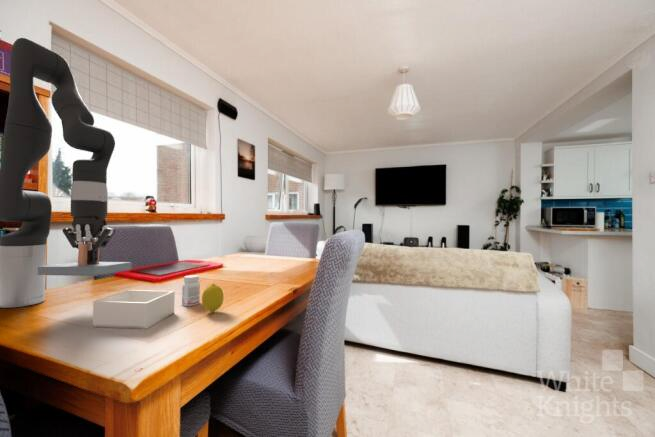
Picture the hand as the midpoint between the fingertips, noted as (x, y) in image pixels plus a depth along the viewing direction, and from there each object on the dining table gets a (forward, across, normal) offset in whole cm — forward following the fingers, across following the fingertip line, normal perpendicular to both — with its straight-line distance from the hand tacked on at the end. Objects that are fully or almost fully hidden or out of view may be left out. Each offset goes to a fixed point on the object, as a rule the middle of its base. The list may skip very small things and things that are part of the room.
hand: (88, 263), depth 74 cm
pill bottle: (+14, +22, +11) cm, 28 cm away
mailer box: (+14, +16, -3) cm, 21 cm away
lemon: (+14, +32, +4) cm, 35 cm away
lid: (+2, 0, 0) cm, 2 cm away
